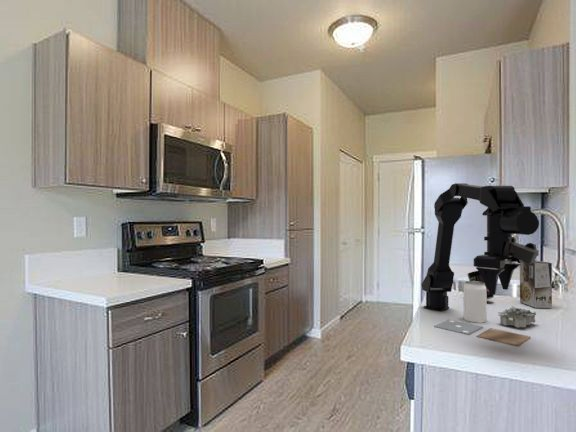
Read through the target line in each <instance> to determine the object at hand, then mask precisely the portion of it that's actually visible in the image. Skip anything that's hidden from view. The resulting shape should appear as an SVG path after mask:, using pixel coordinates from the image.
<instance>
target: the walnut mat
mask: <svg viewBox="0 0 576 432" xmlns="http://www.w3.org/2000/svg"><path fill="white" fill-rule="evenodd" d="M476 338H479V339H484V340H488V341H493V342H497V343H501V344H504V345H509V346H514V347H518V348H519V347H520V346H522V345H524V342H525V343H526V342H528V341H529V340H531V338H532V337H531V336H528V335H524V334H519V333H516V332H511V331H506V330H502V329H501V330H500V329H496V328H493V327H492V328H491V327H490V328H488V329H486V330H485V331H482V332H481V333H478V334H477V335H476Z"/></svg>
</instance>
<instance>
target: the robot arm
mask: <svg viewBox="0 0 576 432" xmlns="http://www.w3.org/2000/svg"><path fill="white" fill-rule="evenodd" d="M468 199H471V200H476V201H478V202H479V203H480V204H481V205H482V206H485V207H486V209H485V210H484V211H483V213H481V214H482V216H483V217H484V216H485V217H486V236H484V237H483V241H486V251H484V252H483V254H480V255H479V254H478V255H476V256H475V257H474V258H473V267H475V269H476V271H479V273H480V275H481V277H482V278H483V280H484V282H485V284H486V286H487V288H488V290H489V292H490V294H492V295H494V296H495V295H496V294H497V288H498V280H499V282H500V284H501V288H502V289H503V290H506V291H507V290H509V287H510V283H511V280H512V277H513V273H514V271H515V269H517V268H520V265H521V264H520V263H522V262H525V263H528V264H531V263H534V262H535V260H537V257H539V256H540V254H539V253H540V251H539V249H537V245H536V244H534V243H532V242H527V243H526V244H525V245H524V244H520V243H517V241H516V240H517V239H516V237H515V236H513V234H514V235H523V236H524V235H526V236H529V235H533V234H534V233H536V232H537V231H538V229H539V226H540V220H539V219H538V216H537V215H536V213H534V212H533V211H532V207H531V206H528V205H527V206H525V203H523V201H522V199H521V198H520V196H519V194H518V193H517V191H516V190H515V186H512V185H485V186H481V185H475V184H469V183H464V182H463V183H456V182H455V183H454V184H453V183H452V184H451V185H450V186H449V188H448V189H446V190H445V191H444V192H442V193H441V194H439V196H438V197H437V199H436V200H435V201H434V205H433V207H434V216H435V218H436V220H437V221H438V222H437V223H438V225H437V234H436V240H435V241H436V242H435V249H434V258H433V263H431V265H430V266H429V267H428V269H427V272H426V276H425V278H424V279H423V281H422V282H421V288H422V291H424V292H425V305H424V306H423V309H428V310H432V311H439V312H443V311H445V310H448V309H450V306H449V295H448V292H449V293H452V289H453V284H454V277H455V272H454V271H452V268H451V267H450V261H451V254H452V253H451V252H452V251H451V250H452V246H453V238H454V231H455V225H456V224H457V223H458V222H459V220H460V219H461V218H462V214H463V210H464V209H465V207H466V206H467V205H468Z"/></svg>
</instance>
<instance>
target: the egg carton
mask: <svg viewBox="0 0 576 432" xmlns="http://www.w3.org/2000/svg"><path fill="white" fill-rule="evenodd" d="M536 316H537V312H536V311H533V312H532V311H530V309H524V308H520V307H519V308H518V307H515V306H511V307H510V308H508V309H505V310H503V311H498V317H499V319H500V324H501V325H503V326H514V327H515V328H526V327H527V326H530V325H531V323H533V324H534V323H536V318H535V317H536Z"/></svg>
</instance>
